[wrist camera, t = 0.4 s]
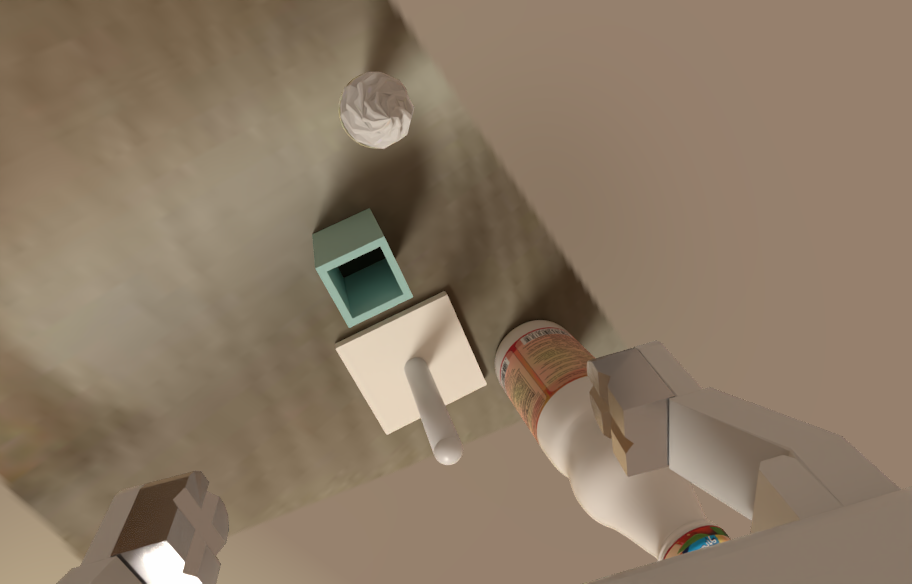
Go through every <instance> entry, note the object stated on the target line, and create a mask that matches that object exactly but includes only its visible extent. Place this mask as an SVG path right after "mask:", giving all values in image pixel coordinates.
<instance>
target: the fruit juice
mask: <svg viewBox="0 0 912 584" xmlns="http://www.w3.org/2000/svg"><path fill="white" fill-rule="evenodd" d="M592 359H596V358H595V357H593V356H592V355H591V354H590V353H589V352H588V351H587V350H586V349H585V348H584V347H583V346H582V345H581V344H580V343H579V342H578V341H577V340H576V339H575V338H574V337H573V336H572V335H571V334H570V333H569V332H568V331H567V330H566V329H564V328H563V327H561V326H560V325H558V324H556V323H554V322H551V321H546V320H534V321H529V322H526V323H523V324H521V325H519V326H518V327H516V328H514V329H513V330H512V331H511V332H509V333H508V334H507V335H506V336H505V338H504V339H503V340H502V342H501V343H500V345H499V347H498V349H497V352H496V356H495V372H496V375H497V378H498V380H499V383H500V384H501V386H502V387H503V389H504V391H505V392H506V394H507V395H508V397H509V398H510V400H511V401H512V403H513V405H514V406H515V408H516V409H517V411H518V412H519V414H520V415H521V417H522V419H523V420H524V422H525V423H526V425H527V426H528V428H529V429H530V431H531V432H532V434H533V436H534V437H535V439H536V440H537V442H538V443H539V445H540V447H541V448H542V450H543V451H544V453H545V454H546V456H547V457H548V458H549V460H550V461H551V462H552V464H553V465H554V466H555V467H556V468H557V469H558V470H559V471H560V472H561V473H562V474H563V475H565V476H566V477H568V478H569V480H570V483H571V487H572V490H573V493H574V495H575V497H576V499H577V501H578V502H579V504H580V505H581V506H582V508H583V509H584V510H585V511H586V513H587V514H588V515H589V516H590V517H592V518H593V519H594V520H596V521H597V522H598V523H600V524H602V525H604V526H606V527H609V528H612V529H614V530H616V531H618V532H619V533H621V534H623V535H624V536H626V537H627V538H629V539H630V540H632V541H633V542H634V543H636V544H637V545H638V546H640V547H641V548H642V549H644V550H645V551H647V552H648V553H650V554H651V555H653V556H654V557H655V558H657V560H658V561H661V560H664V559H667V558H671V557H674V556H678V555H681V554H684V553H688V552H691V551H695V550H698V549H701V548H705V547H708V546H712V545H715V544H718V543H722V542H725V541H728V540H731V539H730V538H729V536H728V535H727V534H726V533H725V531H724V530H723V529H721V528H720V527H718V525H717V524H715V523H714V522H712V521H709V520H707V518H706V516H705V514H704V511H703V509H702V507H701V504H700V502H699V500H698V498H697V496H696V493H695V491H694V489H693V486H692V484H691V482H690V481H688V480H687V479H685V478H683V477H682V476H680V475H679V474H677V473H676V472H674V471H672V470H671V469H669V467H665V468H661V469H657V470H653V471H649V472H645V473H641V474H638V475H634V476H630V477H627V475H626V474H625V472H624V470H623V468H622V467H621V465H620V463H619V461H618V460H617V458H616V456H615V454H614V453H613V447H612V439H610V438H608V437H606V436H604V435H603V433H602V431H601V429H600V428H599V426H598V423H597V421H596V419H595V417H594V413H593V410H592V406H591V401H590V394H589V392H590V390H591V388H592V387H593V384H592V383H591V381H590V379H589V378H588V376H587V361H589V360H592Z"/></svg>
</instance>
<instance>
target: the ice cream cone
mask: <svg viewBox="0 0 912 584" xmlns="http://www.w3.org/2000/svg"><path fill="white" fill-rule="evenodd" d="M413 111H414V106H413V104H412V102H411V100H410V98H409V96H408V94H407V91H406V88H405V87H404V85H403V84H402V83H401V81H400V80H398V79H395V78H394V77H392V76H389V75H387V74H385V73H383V72H370V71H369V72H366V73H364V74H362V75H359V76H357V77H356V78H354V79H353V80H351V81H350V82H349V83H348V84H347V86H346V87H345V88H344V90H343V92H342V94H341V97H340V100H339V117H340V121H341V124H342V126H343V128H344V130H345V131H346V133H347V134H348V135H349V136H350V138H351V139H353V140H354V141H355V142H357V143H358V144H360V145H362V146H365V147H368V148H382V149H385V148H386V147H388V146H390V145H392V144H394V143H395V142H397V141H399V140H401V139H402V138H403V137H405V136H406V135H407V134H408V130H409V126H410V121H411V119H412V116H413Z"/></svg>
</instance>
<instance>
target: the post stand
mask: <svg viewBox="0 0 912 584" xmlns="http://www.w3.org/2000/svg"><path fill="white" fill-rule="evenodd" d="M335 349H336V350H337V352H338V354H339V355H340V357H341V359H342V361H343V362H344V364H345V366H346V367H347V369H348V371H349V372H350V374H351V376H352V377H353V379H354V381H355V382H356V384H357V386H358V387H359V389H360V391H361V393H362V394H363V396H364V398H365V399H366V401H367V403H368V404H369V406H370V408H371V409H372V411H373V413H374V414H375V416H376V418H377V419H378V421H379V423H380V424H381V426H382V428H383V430H384V431H385V433H386V435H388V434H390V433H392V432H394V431H396V430H398V429H400V428H402V427H404V426H405V425H407V424H409V423H411V422H413V421H415V420H417V419H419V418H421V419H422V422H423V425H424V428H425V431H426V434H427V436H428V439H429V442H430V445H431V448H432V450H433V453H434V456H435V458H436V459H437V460H438V461H439V462H440V463H442V464H444V465H451V464H454V463H456V462H457V461H458V460H459V459H460V458H461V456H462V453H463V446H462V443H461V440H460V438H459V436H458V434H457V431H456V429H455V427H454V424H453V422H452V420H451V418H450V415H449V413H448V411H447V409H446V406H445V405H447V404H449V403H451V402H453V401H455V400H457V399H459V398H461V397H463V396H465V395H467V394H469V393H471V392H473V391H475V390H477V389H479V388H481V387H483V386H485V385H487V384H486V381H485V379H484V377H483V375H482V372H481V370H480V368H479V365H478V363H477V361H476V359H475V356H474V354H473V352H472V350H471V347H470V345H469V343H468V341H467V338H466V336H465V334H464V331H463V329H462V327H461V325H460V322H459V320H458V318H457V316H456V313H455V311H454V309H453V306H452V304H451V302H450V300H449V297H448V295H447V293H446V292H445V291H443V292H441V293H439V294H437V295H435V296H433V297H431V298H429V299H427V300H425V301H422V302H420V303H418V304H416V305H414V306H412V307H410V308H408V309H406V310H404V311H402V312H400V313H398V314H396V315H393V316H391V317H389V318H387V319H385V320H383V321H381V322H379V323H377V324H375V325H373V326H371V327H369V328H366V329H364V330H362V331H360V332H358V333H356V334H354V335H352V336H350V337H348V338H346V339H344V340H342V341H340V342H337V343H335Z"/></svg>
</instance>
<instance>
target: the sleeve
mask: <svg viewBox="0 0 912 584" xmlns="http://www.w3.org/2000/svg"><path fill="white" fill-rule="evenodd" d="M312 236H313V247H314V259H315V269H316V270H317V272H318V274H319V276H320V277H321V279H322V281H323V283H324V285H325V286H326V288H327V290H328V292H329V293H330V295H331V297H332V299H333V300H334V302H335V304H336V306H337V308H338V309H339V311H340V313H341V315H342V316H343V318H344V320H345V322H346V323H347V325H348V327H349V328H350V327H352V326H354V325H356V324H358V323H360V322H363V321H365V320H367V319H369V318H371V317H373V316H375V315H377V314H379V313H381V312H383V311H385V310H387V309H390V308H392V307H394V306H396V305H398V304H400V303H402V302H404V301H406V300H408V299H410V298H412V297H413V295H412V293H411V291H410V289H409V287H408V285H407V283H406V281H405V279H404V277H403V275H402V272H401V270H400V268H399V266H398V264H397V262H396V260H395V258H394V256H393V254H392V252H391V249H390V247H389V245H388V243H387V241H386V239H385V237H384V235H383V233H382V231H381V229H380V227H379V225H378V223H377V221H376V219H375V218H374V216H373V214H372V212H371V210H370V208H368V209H366V210H364V211H362V212H360V213H358V214H355V215H353V216H351V217H349V218H347V219H345V220H342V221H340V222H338V223H336V224H334V225H331V226H329V227H327V228H325V229H323V230H321V231H318V232H316V233H314V234H312ZM378 247H381V249H382V251H383V253H384V255H385V257H386V258H385V259H383V260H381V261H379V262H376V263H374V264H372V265H370V266H368V267H366V268H364V269H362V270H360V271H357V272H355V273H353V274H351V275H349V276H347V277H345V278H343V276H342V274H341V272H340V270H339V268H338V266H340V265H342V264H344V263H346V262H348V261H350V260H353V259H355V258H357V257H359V256H361V255H363V254H365V253H368V252H370V251H372V250H374V249H376V248H378Z"/></svg>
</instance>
